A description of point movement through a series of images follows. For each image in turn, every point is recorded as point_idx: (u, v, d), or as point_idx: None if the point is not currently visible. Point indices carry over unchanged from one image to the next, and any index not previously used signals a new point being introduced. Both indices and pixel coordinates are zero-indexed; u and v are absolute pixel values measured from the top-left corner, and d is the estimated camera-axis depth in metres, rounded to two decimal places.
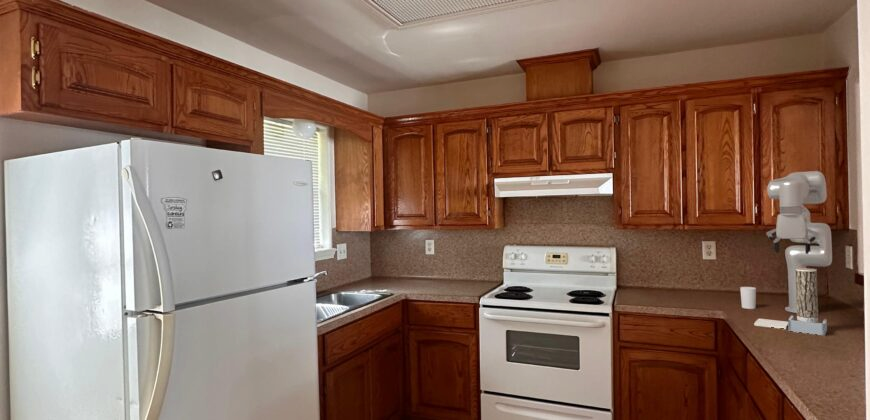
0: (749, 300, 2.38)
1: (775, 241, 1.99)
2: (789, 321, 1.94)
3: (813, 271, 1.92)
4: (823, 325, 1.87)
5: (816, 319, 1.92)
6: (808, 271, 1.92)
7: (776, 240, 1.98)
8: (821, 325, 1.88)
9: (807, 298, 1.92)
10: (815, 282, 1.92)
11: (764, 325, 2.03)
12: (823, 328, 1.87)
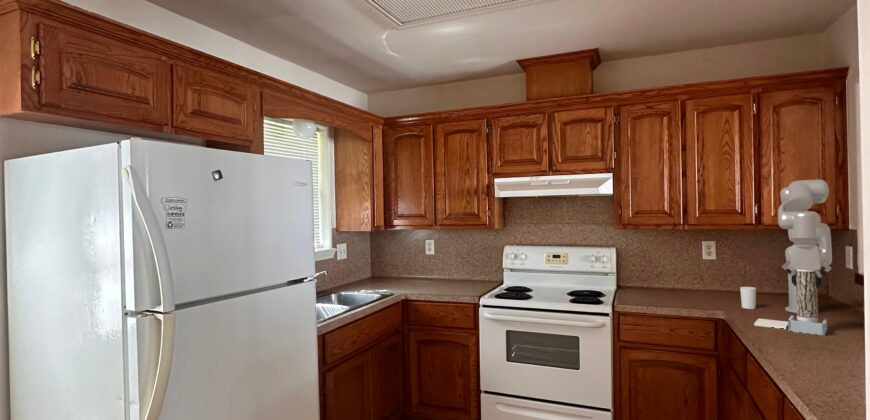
0: (749, 300, 2.38)
1: (792, 274, 1.97)
2: (789, 321, 1.94)
3: (813, 271, 1.92)
4: (823, 325, 1.87)
5: (816, 319, 1.92)
6: (808, 271, 1.92)
7: (793, 273, 1.97)
8: (821, 325, 1.88)
9: (807, 298, 1.92)
10: (815, 282, 1.92)
11: (764, 325, 2.03)
12: (823, 328, 1.87)
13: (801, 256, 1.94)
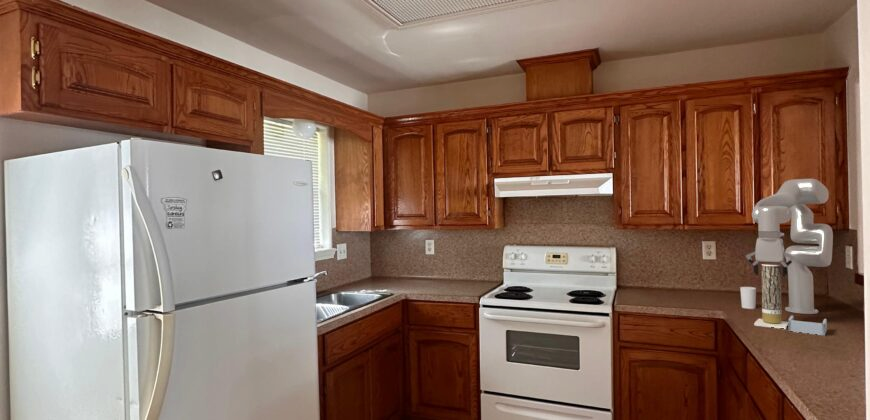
0: (749, 300, 2.38)
1: (754, 264, 2.08)
2: (789, 321, 1.94)
3: (777, 266, 2.03)
4: (823, 325, 1.87)
5: (779, 311, 2.03)
6: (772, 266, 2.03)
7: (755, 263, 2.08)
8: (821, 325, 1.88)
9: (771, 292, 2.03)
10: (779, 276, 2.03)
11: (764, 325, 2.03)
12: (823, 328, 1.87)
13: (765, 248, 2.05)
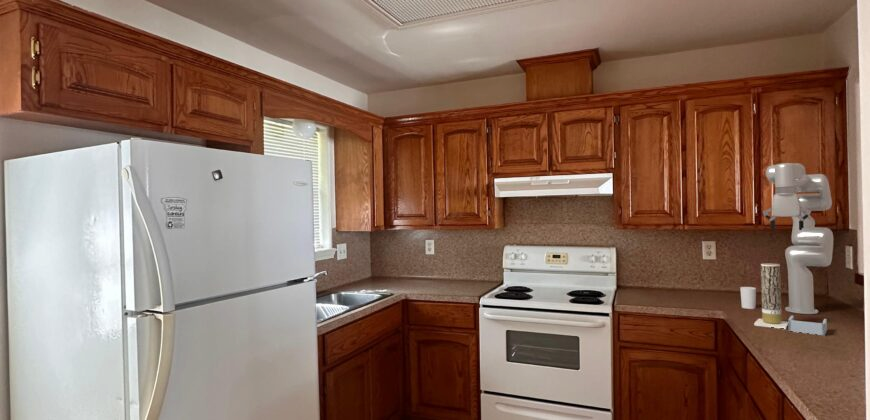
0: (749, 300, 2.38)
1: (771, 219, 2.14)
2: (789, 321, 1.94)
3: (776, 266, 2.03)
4: (823, 325, 1.87)
5: (779, 311, 2.03)
6: (772, 266, 2.03)
7: (772, 218, 2.14)
8: (821, 325, 1.88)
9: (771, 292, 2.03)
10: (778, 276, 2.03)
11: (764, 325, 2.03)
12: (823, 328, 1.87)
13: (782, 204, 2.10)
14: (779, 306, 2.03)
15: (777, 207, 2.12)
